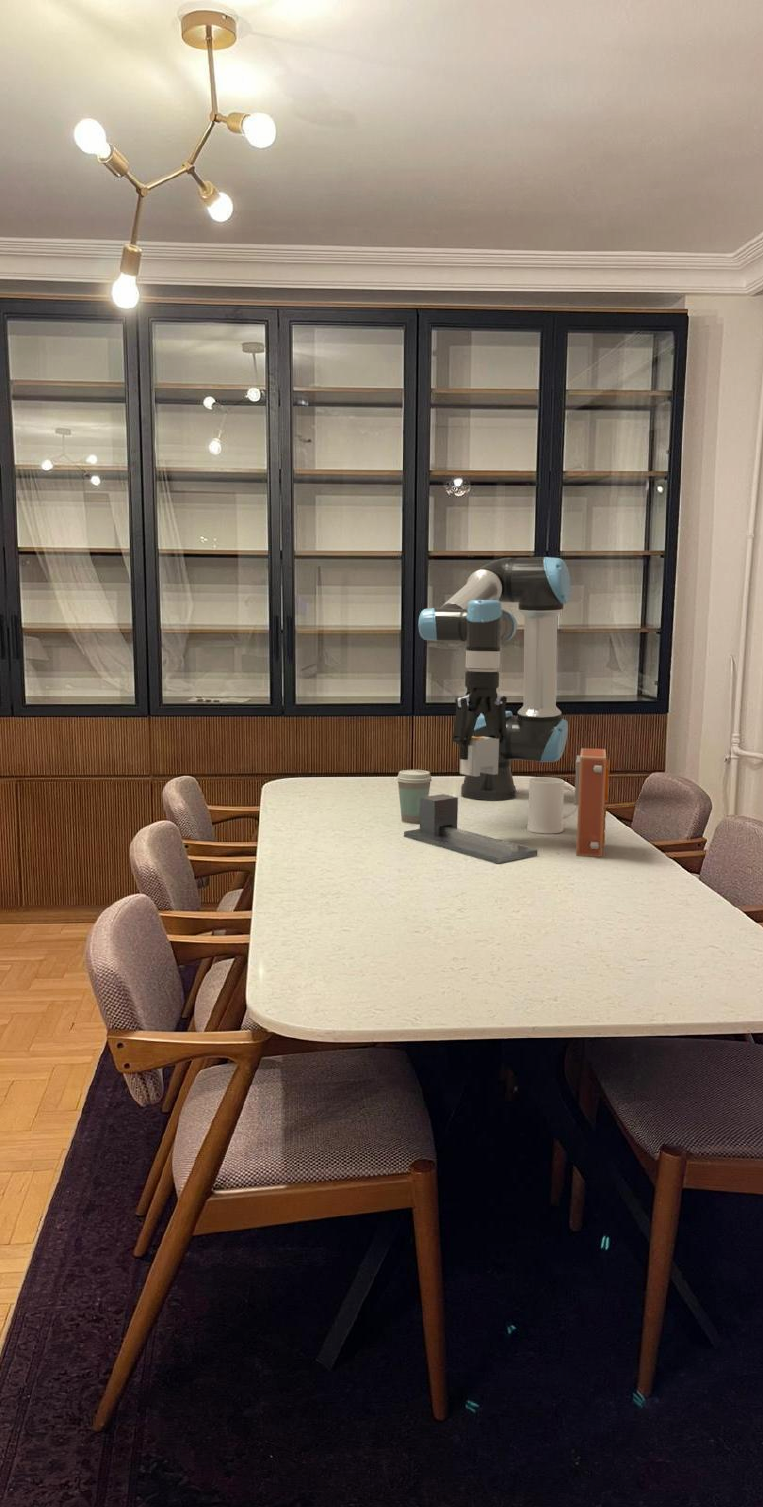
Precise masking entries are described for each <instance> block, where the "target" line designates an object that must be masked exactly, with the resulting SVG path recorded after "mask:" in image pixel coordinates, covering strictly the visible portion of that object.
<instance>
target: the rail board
mask: <svg viewBox="0 0 763 1507" xmlns="http://www.w3.org/2000/svg"><path fill="white" fill-rule="evenodd" d="M458 806H459V797H456V796H452V795H448V794H446V793H445V794H442V793H441V794H436V795H435V794H434V795H429V796H427V797H420V823H419V828H417V829H410V830H404V831H403V837H404V838H408V839H411V840H413V841H414V840H415V841H418V842H422V843H424V844H427V845H428V844H429V845H431V844H432V846H434V845H435V847H439V848H441V847H442V848H441V849H445V850H449V851H451V852H456V853H458V854H459V853H460V854H463V855H466V856H470V857H472V858H475V859H480V860H482V861H485V862H490V863H493V864H497V865H498V864H502V863H507V862H511V861H512V860H513V861H518V860H522V859H527V858H531V857H536V856H538V849H536V848H532V847H528V846H524V845H520V844H518V843H514V842H513V843H512V842H509V841H505V840H502V839H498V838H495V837H491V836H488V835H487V836H486V835H483V834H478V833H475V832H472V831H468V830H464V829H460V828H458V812H459V811H458V810H459V808H458Z"/></svg>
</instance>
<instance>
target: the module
mask: <svg viewBox="0 0 763 1507" xmlns="http://www.w3.org/2000/svg"><path fill="white" fill-rule="evenodd" d="M465 739H466V738H465ZM469 745H472V746H473V749H472V775H469V776H475V777H476V776H480V772H481V773H487V774H492V775H495V774H498V757H499V739H497V738H490V737H474V736H472V738H471V741H470V744H469ZM459 761H460V762H459V774H460V775H462V774H461V759H460V758H459ZM463 775H466V774H463Z"/></svg>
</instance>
